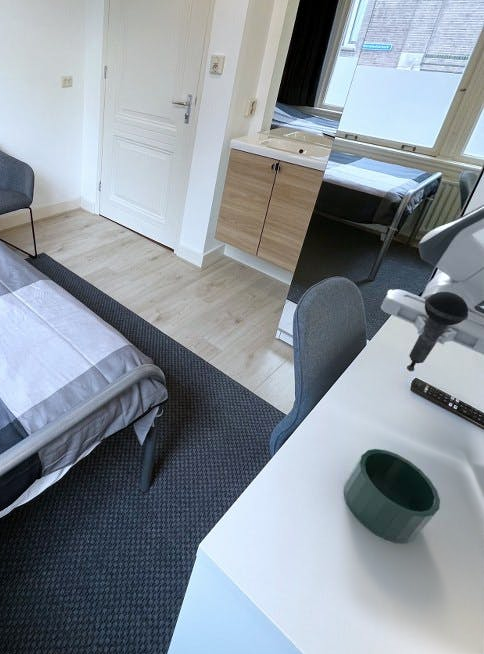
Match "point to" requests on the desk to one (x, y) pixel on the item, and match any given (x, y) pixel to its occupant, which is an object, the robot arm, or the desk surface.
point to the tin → (390, 496)
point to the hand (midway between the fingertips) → (431, 336)
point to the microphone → (437, 323)
